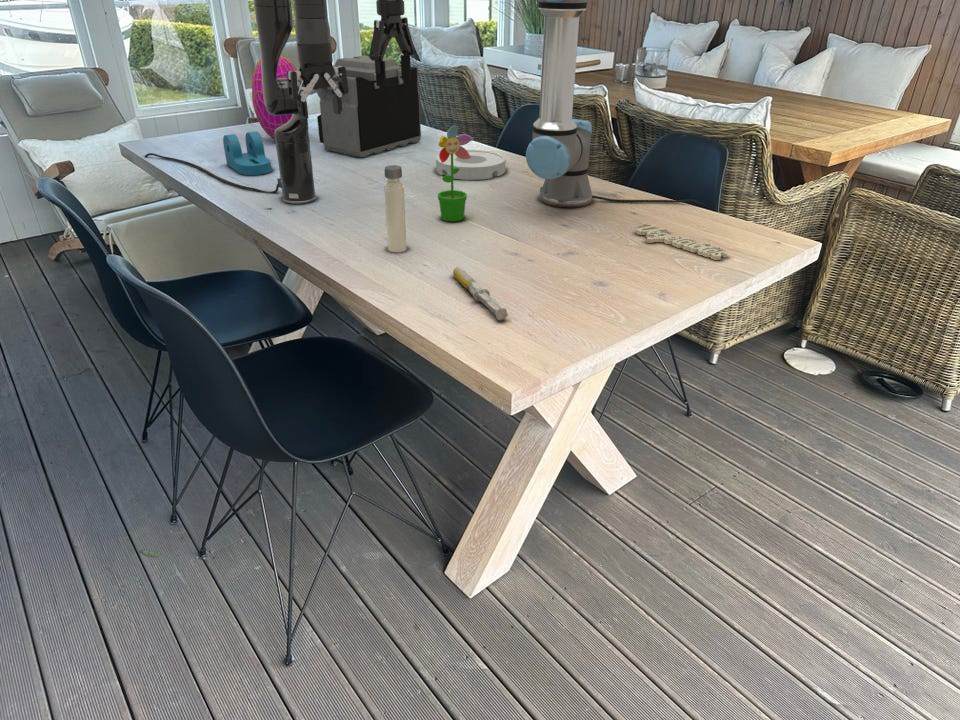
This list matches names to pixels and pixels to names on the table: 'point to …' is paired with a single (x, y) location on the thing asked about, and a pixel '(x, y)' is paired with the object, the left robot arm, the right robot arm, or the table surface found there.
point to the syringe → (479, 293)
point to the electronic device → (370, 110)
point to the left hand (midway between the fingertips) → (321, 116)
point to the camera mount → (246, 154)
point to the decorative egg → (263, 116)
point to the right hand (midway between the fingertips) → (394, 83)
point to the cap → (393, 172)
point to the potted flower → (452, 199)
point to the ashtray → (473, 165)
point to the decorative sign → (680, 242)
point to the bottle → (395, 215)
